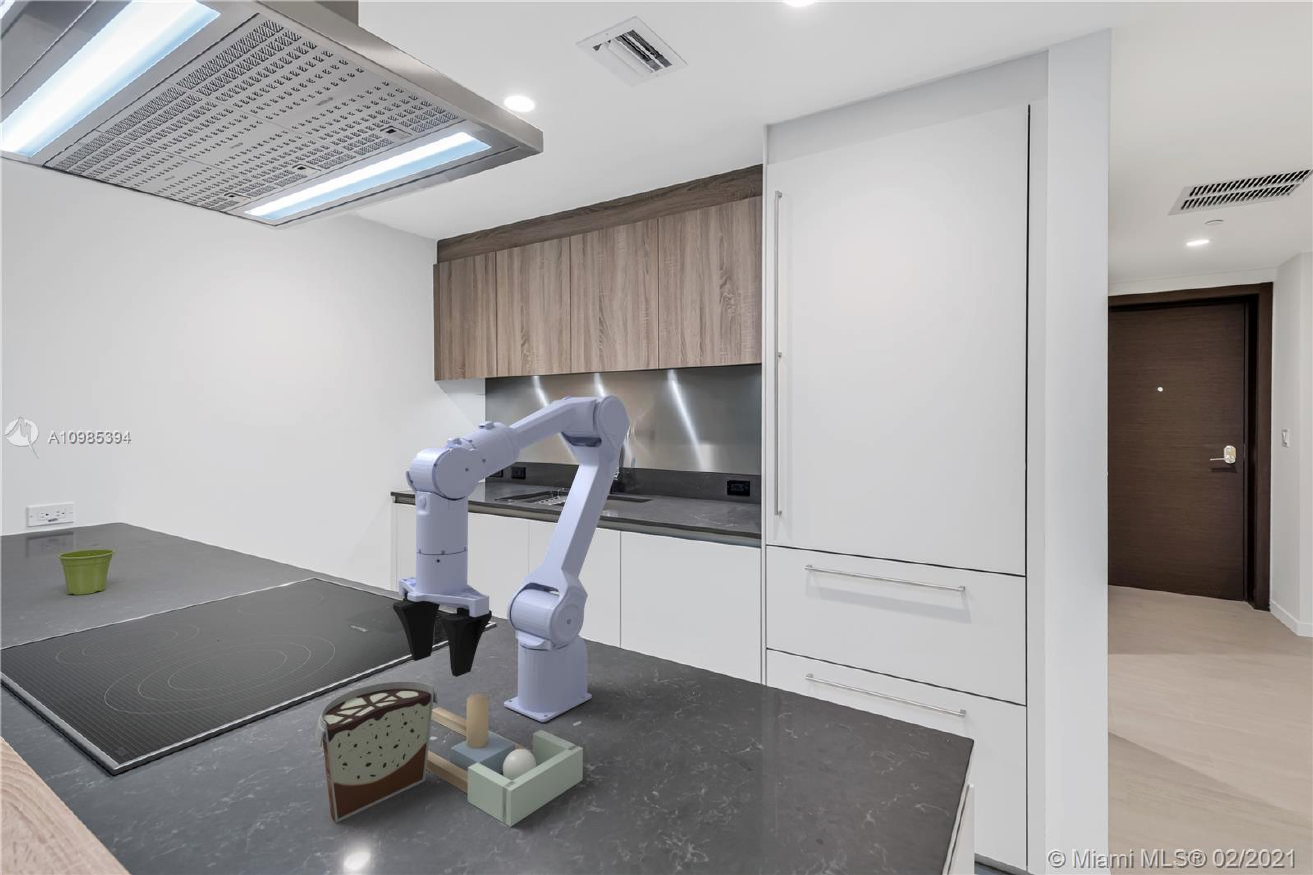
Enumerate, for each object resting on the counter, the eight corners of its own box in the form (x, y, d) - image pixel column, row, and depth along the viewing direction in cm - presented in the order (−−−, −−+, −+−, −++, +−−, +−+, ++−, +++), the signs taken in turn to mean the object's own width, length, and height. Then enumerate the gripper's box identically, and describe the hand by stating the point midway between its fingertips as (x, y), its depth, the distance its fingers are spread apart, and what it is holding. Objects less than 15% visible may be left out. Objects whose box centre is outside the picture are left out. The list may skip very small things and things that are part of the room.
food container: (408, 755, 72) (409, 670, 72) (437, 775, 68) (438, 684, 68) (293, 804, 62) (293, 706, 62) (319, 830, 58) (319, 725, 58)
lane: (438, 715, 82) (439, 706, 82) (532, 761, 71) (532, 751, 71) (378, 741, 75) (378, 731, 75) (471, 795, 64) (471, 784, 64)
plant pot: (116, 584, 145) (116, 547, 144) (113, 593, 137) (113, 554, 137) (60, 590, 139) (60, 551, 139) (54, 600, 131) (54, 559, 131)
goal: (540, 759, 71) (540, 729, 71) (582, 780, 67) (582, 748, 67) (467, 801, 63) (467, 767, 63) (510, 827, 59) (510, 790, 59)
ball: (532, 788, 67) (513, 765, 69) (547, 761, 67) (528, 738, 69) (510, 797, 64) (490, 772, 66) (525, 768, 64) (505, 745, 66)
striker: (486, 750, 73) (487, 687, 73) (515, 764, 70) (515, 699, 70) (450, 769, 69) (450, 702, 69) (478, 785, 66) (479, 715, 66)
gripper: (375, 547, 73) (374, 661, 74) (452, 564, 65) (450, 693, 65) (427, 539, 79) (426, 644, 79) (504, 554, 71) (503, 672, 71)
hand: (441, 665), depth 73 cm, fingers open, 7 cm apart
